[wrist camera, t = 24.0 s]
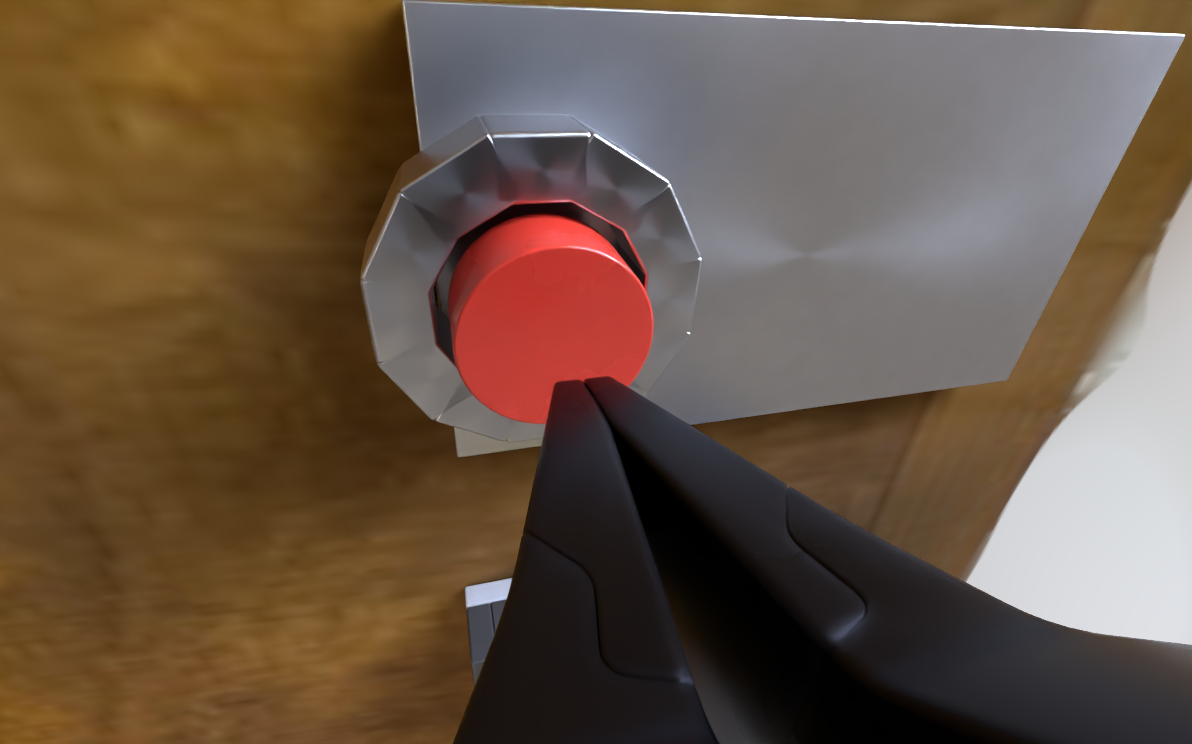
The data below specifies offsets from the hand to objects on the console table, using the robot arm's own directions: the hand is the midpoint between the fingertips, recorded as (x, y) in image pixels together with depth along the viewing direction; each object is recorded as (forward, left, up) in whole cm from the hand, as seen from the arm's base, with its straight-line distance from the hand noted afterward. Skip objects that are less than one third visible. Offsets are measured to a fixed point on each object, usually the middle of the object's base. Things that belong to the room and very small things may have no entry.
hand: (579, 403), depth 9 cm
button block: (+7, 0, -6) cm, 9 cm away
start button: (0, 0, -3) cm, 4 cm away
